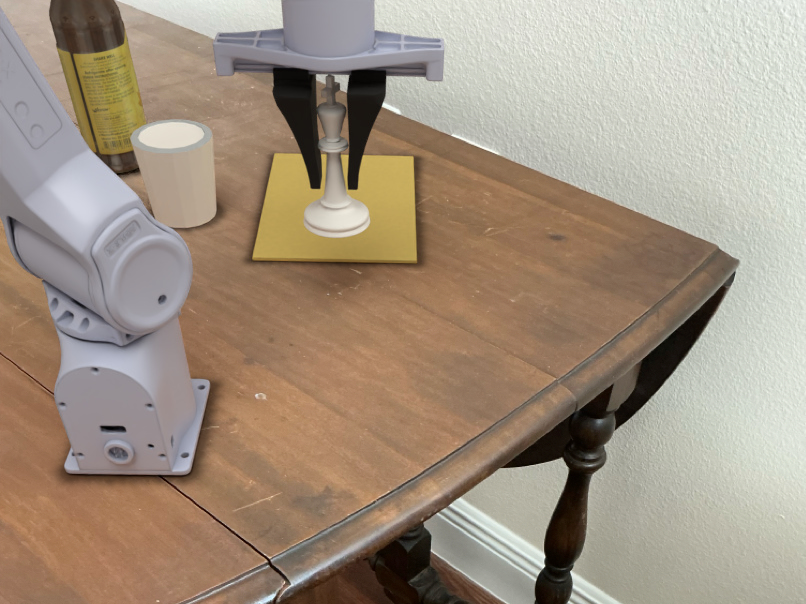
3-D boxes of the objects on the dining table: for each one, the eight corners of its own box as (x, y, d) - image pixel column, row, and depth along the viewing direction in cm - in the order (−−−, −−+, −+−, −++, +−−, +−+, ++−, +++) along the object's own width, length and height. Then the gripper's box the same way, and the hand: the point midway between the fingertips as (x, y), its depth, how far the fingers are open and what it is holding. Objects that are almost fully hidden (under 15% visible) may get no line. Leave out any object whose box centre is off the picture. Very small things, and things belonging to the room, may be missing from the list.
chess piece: (290, 227, 62) (277, 81, 54) (326, 199, 64) (318, 57, 57) (348, 245, 60) (342, 97, 53) (382, 215, 63) (381, 71, 55)
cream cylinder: (207, 235, 74) (195, 156, 69) (134, 226, 75) (116, 146, 70) (233, 199, 79) (223, 122, 73) (164, 191, 79) (149, 113, 74)
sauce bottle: (166, 155, 84) (120, -87, 69) (128, 181, 80) (72, -70, 66) (112, 142, 86) (57, -97, 71) (73, 168, 82) (6, -80, 67)
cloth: (416, 263, 72) (416, 260, 72) (252, 260, 72) (252, 257, 71) (413, 158, 85) (413, 155, 85) (274, 155, 85) (274, 152, 85)
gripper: (446, -57, 53) (435, 160, 63) (213, -64, 52) (240, 155, 63) (450, -23, 48) (437, 205, 58) (195, -30, 48) (227, 201, 58)
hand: (335, 183), depth 60 cm, fingers closed on chess piece
